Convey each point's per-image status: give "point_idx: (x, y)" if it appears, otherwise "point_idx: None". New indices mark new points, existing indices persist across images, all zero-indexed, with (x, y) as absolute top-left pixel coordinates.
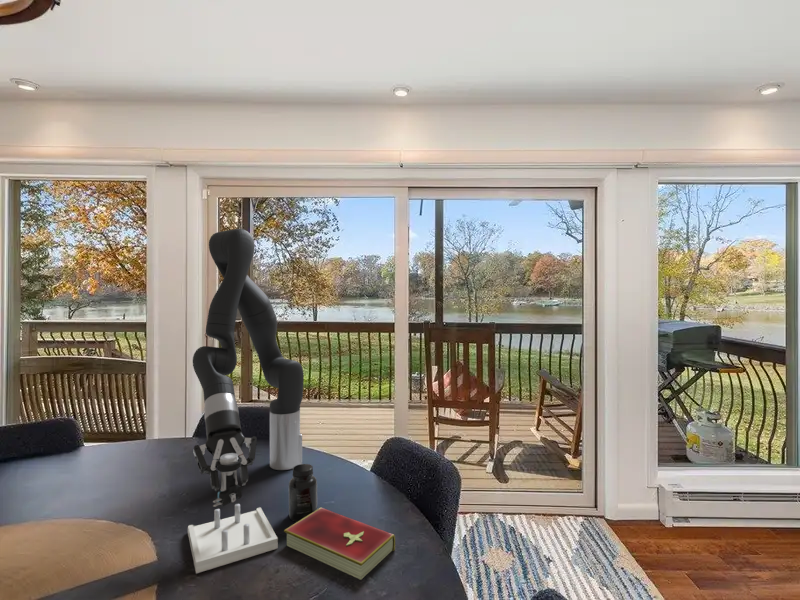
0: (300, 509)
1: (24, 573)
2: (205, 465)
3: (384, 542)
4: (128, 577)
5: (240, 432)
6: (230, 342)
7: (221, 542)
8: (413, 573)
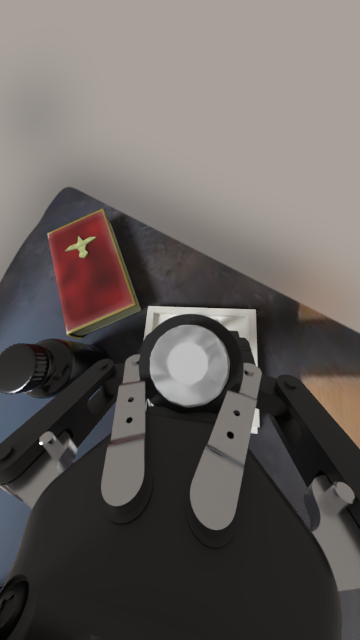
0: (91, 347)
1: None
2: (286, 386)
3: (64, 226)
4: (339, 355)
5: (9, 589)
6: None
7: None
8: (73, 213)
